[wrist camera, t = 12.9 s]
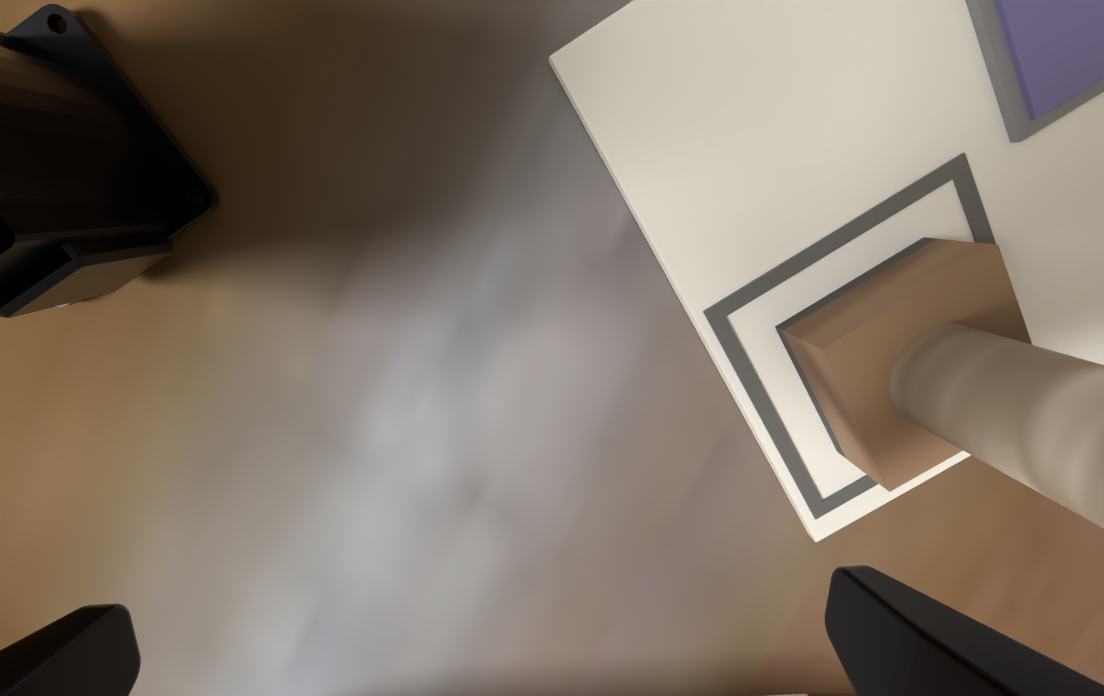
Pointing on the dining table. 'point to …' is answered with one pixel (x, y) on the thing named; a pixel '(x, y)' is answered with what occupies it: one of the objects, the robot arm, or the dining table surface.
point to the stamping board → (848, 175)
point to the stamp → (949, 376)
